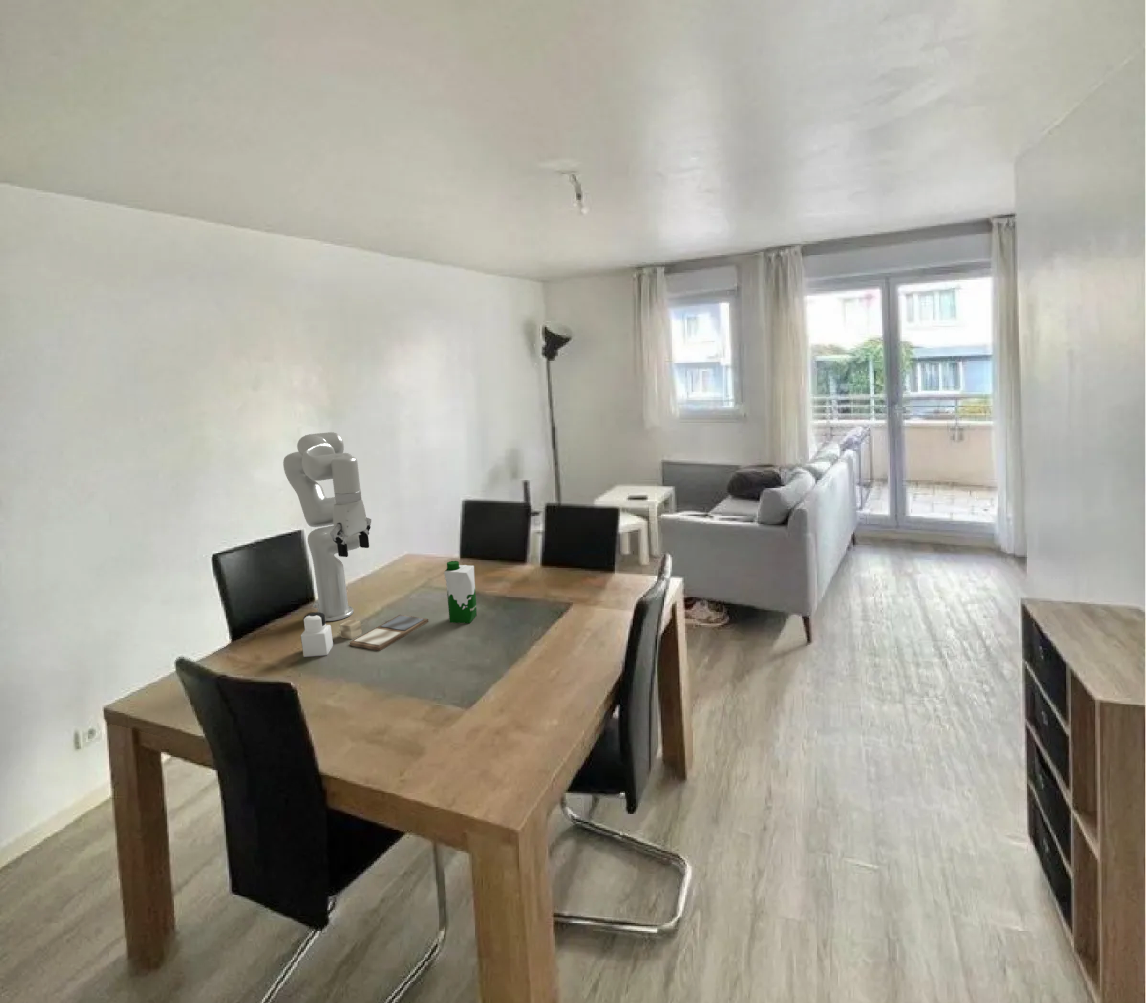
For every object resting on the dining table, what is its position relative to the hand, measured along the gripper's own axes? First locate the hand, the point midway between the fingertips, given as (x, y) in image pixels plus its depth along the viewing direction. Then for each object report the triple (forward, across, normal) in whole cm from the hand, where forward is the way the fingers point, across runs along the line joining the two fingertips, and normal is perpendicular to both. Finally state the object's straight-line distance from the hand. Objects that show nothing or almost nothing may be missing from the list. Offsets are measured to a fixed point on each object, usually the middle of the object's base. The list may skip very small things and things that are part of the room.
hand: (354, 551), depth 203 cm
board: (+29, -8, +4) cm, 31 cm away
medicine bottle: (+30, +11, -8) cm, 33 cm away
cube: (+30, -2, -7) cm, 30 cm away
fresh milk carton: (+30, -25, +22) cm, 44 cm away
